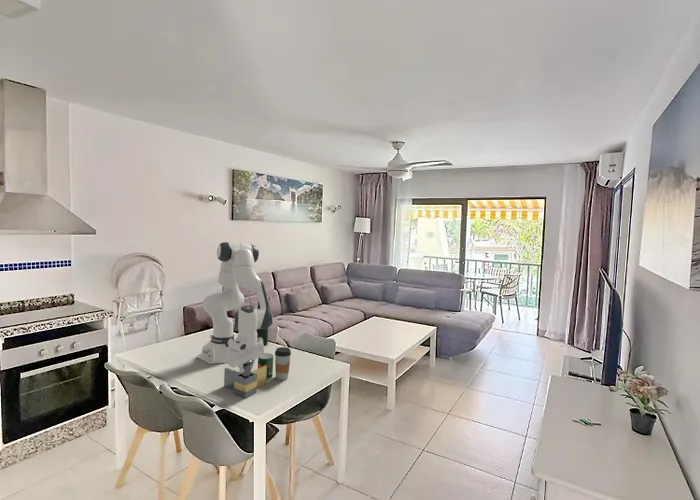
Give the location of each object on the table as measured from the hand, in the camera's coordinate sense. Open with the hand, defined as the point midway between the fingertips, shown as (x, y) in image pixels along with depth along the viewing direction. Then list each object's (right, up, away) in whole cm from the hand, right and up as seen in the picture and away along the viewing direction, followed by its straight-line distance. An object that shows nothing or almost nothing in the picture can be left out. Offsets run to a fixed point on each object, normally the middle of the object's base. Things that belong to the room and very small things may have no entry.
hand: (246, 370), depth 176 cm
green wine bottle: (-11, -6, +72) cm, 73 cm away
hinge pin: (0, -9, +1) cm, 9 cm away
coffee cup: (+13, -11, +21) cm, 27 cm away
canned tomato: (+4, -10, +21) cm, 24 cm away
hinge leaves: (-3, -10, +7) cm, 13 cm away
